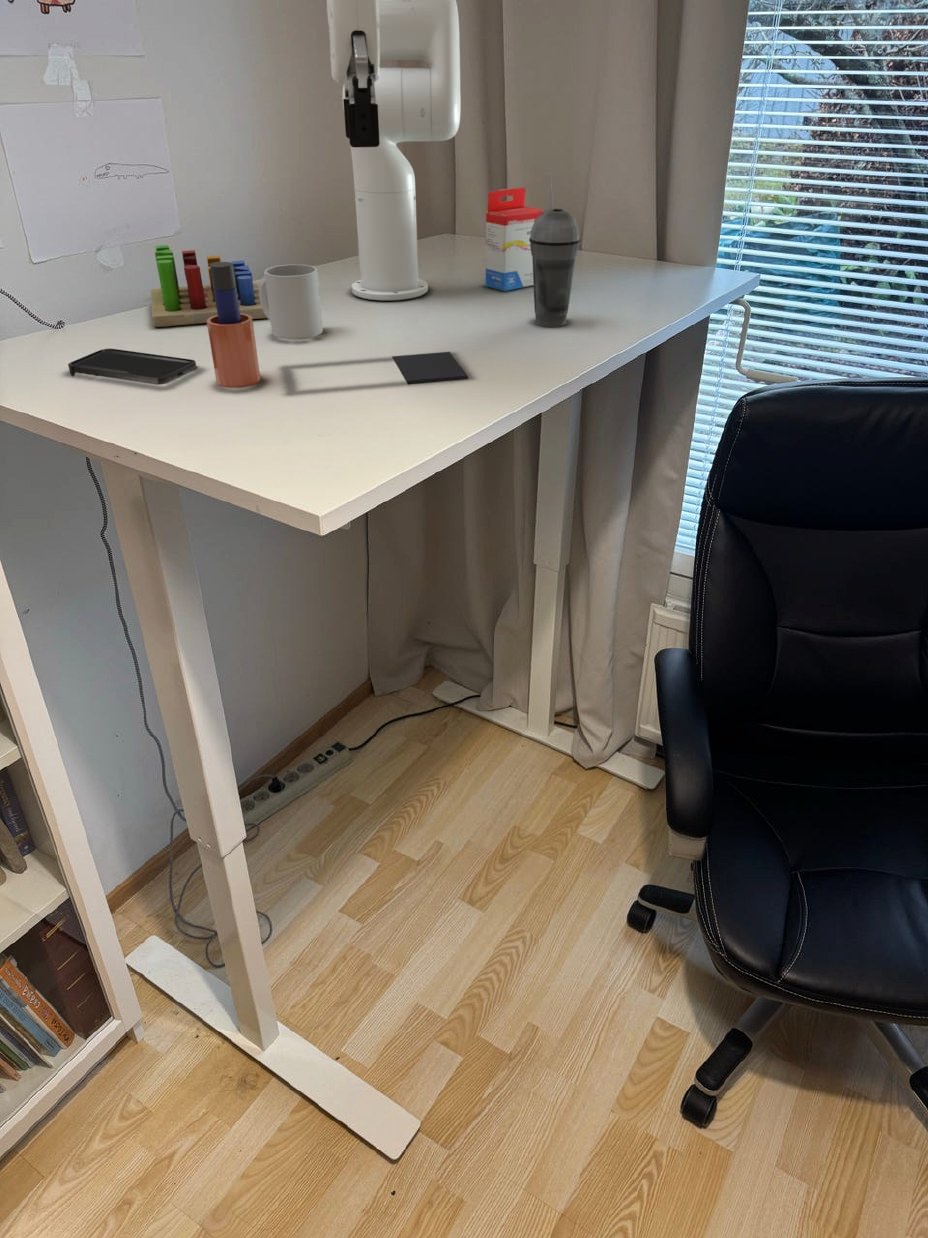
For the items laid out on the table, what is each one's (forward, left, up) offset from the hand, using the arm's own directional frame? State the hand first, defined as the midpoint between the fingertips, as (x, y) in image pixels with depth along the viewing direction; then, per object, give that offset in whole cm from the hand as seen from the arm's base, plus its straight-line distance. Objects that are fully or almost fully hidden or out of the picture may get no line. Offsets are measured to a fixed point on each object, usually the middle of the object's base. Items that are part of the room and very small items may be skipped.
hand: (362, 142), depth 101 cm
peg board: (-35, -20, -26) cm, 49 cm away
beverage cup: (-14, +29, -26) cm, 41 cm away
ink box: (-37, +30, -26) cm, 54 cm away
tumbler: (+2, -17, -26) cm, 31 cm away
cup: (-18, -9, -26) cm, 33 cm away
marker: (+2, -17, -25) cm, 31 cm away
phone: (-6, -30, -26) cm, 41 cm away
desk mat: (+2, 0, -26) cm, 26 cm away
